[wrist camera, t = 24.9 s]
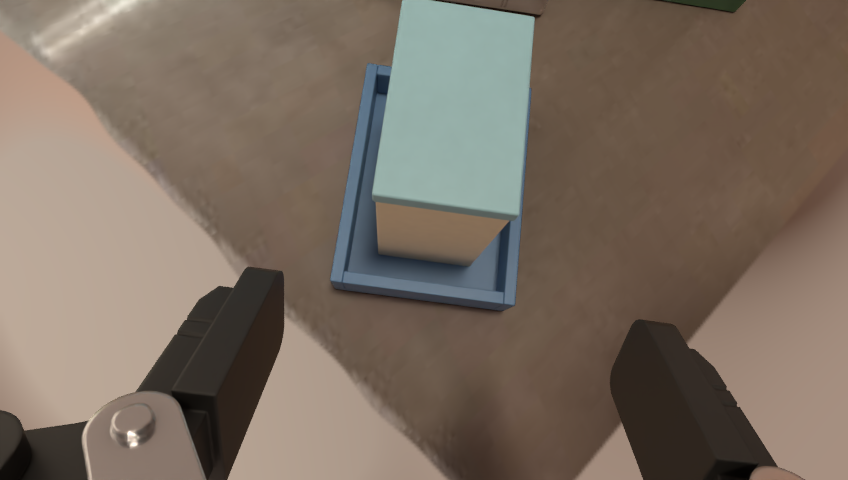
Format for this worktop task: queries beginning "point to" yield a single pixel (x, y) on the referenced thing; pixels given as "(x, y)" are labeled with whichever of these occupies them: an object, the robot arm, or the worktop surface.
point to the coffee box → (510, 5)
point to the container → (452, 131)
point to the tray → (403, 277)
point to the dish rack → (714, 4)
